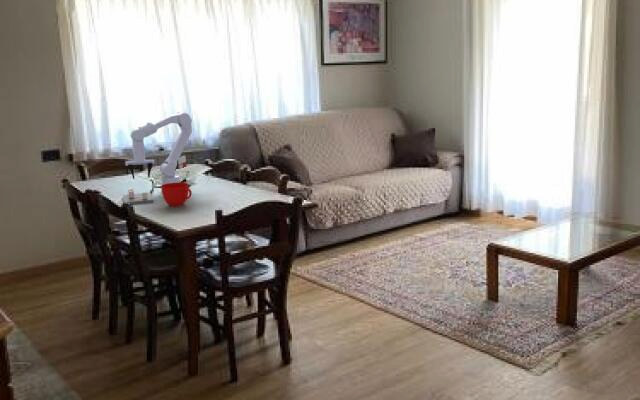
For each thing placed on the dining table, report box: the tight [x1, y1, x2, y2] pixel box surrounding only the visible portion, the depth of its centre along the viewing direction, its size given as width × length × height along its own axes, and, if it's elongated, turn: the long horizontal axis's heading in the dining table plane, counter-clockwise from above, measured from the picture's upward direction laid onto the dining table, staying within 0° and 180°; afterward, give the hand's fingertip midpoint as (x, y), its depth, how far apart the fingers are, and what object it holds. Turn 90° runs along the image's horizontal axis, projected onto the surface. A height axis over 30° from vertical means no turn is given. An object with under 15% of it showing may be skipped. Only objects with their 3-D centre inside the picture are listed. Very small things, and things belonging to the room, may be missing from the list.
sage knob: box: [141, 191, 148, 199], centre depth 303 cm, size 2×2×3 cm
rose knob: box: [128, 190, 135, 198], centre depth 307 cm, size 2×2×3 cm
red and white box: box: [176, 154, 188, 169], centre depth 355 cm, size 11×4×15 cm, turn 168°
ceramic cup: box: [160, 182, 192, 208], centre depth 294 cm, size 13×17×10 cm
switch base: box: [122, 192, 155, 206], centre depth 309 cm, size 14×19×2 cm
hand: (141, 178), depth 317 cm, fingers open, 7 cm apart
